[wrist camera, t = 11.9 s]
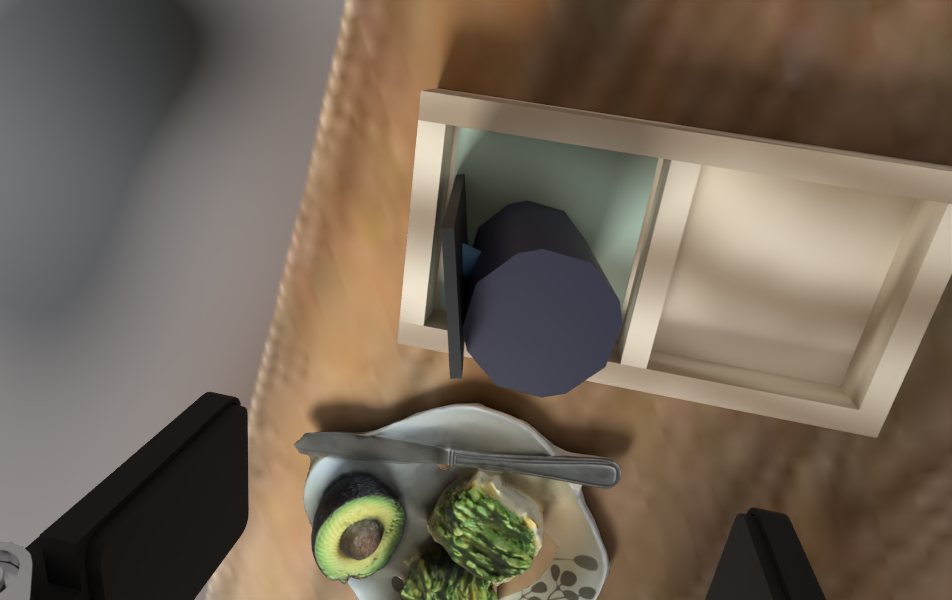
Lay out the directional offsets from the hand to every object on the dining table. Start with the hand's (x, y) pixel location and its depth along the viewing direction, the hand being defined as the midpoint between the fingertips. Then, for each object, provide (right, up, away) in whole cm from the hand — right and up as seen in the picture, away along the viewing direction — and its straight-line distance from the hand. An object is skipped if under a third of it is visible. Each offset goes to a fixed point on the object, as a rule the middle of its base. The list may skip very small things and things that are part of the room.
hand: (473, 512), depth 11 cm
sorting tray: (+9, +6, +18) cm, 21 cm away
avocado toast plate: (-2, -9, +27) cm, 28 cm away
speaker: (+3, +7, +18) cm, 19 cm away
